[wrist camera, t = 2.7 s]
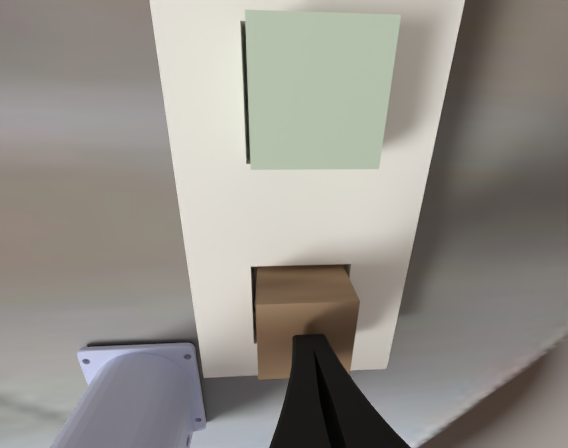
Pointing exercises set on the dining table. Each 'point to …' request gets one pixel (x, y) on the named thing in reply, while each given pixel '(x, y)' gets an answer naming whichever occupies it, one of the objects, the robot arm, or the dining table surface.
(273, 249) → the key panel
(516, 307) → the dining table surface
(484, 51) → the dining table surface
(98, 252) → the dining table surface
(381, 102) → the sage key
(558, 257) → the dining table surface
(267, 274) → the walnut key
